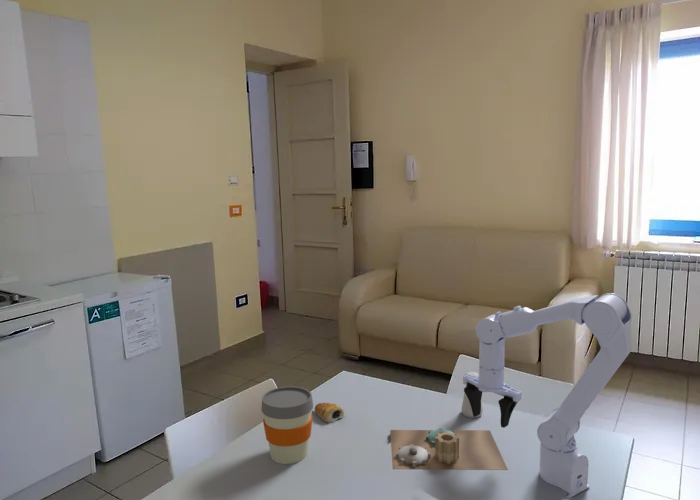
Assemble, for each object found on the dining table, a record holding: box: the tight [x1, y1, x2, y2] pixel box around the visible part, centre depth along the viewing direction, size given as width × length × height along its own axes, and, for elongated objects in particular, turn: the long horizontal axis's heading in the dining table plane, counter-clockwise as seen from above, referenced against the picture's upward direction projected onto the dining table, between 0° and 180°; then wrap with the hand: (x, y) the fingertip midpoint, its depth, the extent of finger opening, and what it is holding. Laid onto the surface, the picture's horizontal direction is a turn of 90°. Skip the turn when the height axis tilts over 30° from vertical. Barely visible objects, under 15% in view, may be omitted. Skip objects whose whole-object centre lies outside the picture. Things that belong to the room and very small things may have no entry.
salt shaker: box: [461, 371, 484, 419], centre depth 143 cm, size 6×6×13 cm
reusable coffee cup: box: [261, 385, 314, 465], centre depth 126 cm, size 13×13×15 cm
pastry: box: [314, 402, 345, 424], centre depth 147 cm, size 9×7×4 cm
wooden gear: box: [435, 432, 459, 464], centre depth 121 cm, size 6×6×5 cm
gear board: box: [389, 427, 509, 471], centre depth 125 cm, size 26×18×5 cm
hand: (490, 420), depth 122 cm, fingers open, 7 cm apart
